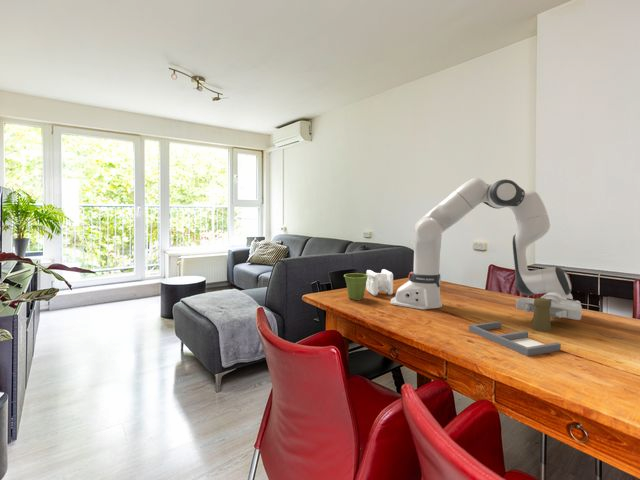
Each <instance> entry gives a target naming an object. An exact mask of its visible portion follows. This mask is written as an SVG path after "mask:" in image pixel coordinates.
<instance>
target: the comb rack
mask: <svg viewBox="0 0 640 480" xmlns="http://www.w3.org/2000/svg"><path fill="white" fill-rule="evenodd" d="M501 328H502V322H501V321H497V320H496V321H491V322H483V323H477V324H469V325H468V332H471V333H473V334H476V335H478V336H479V337H480V336H481V337H482V338H485V339H487V340H490V341H491V342H494V343H496V344H499V345H501V346H503V347H505V348H508V349H510V350H512V351H515V352H517V353H520V354H521V355H524V356H526V357H531V356H535V355H536V356H537V355H541V354H542V355H543V354H548V353H552V352H553V353H555V352H559V351H561V350H562V349H561V347H562V344H561V342H557V341H556V342H551V343H550V342H549V343H542V342H540V341H537V340H534V339H531V338H529V332H528V331H527V330H522V331H521V330H520V331H515V332H508V333H502V334H496V333H493V332H491V331H488V330H494V329H495V330H497V329H501Z"/></svg>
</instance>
